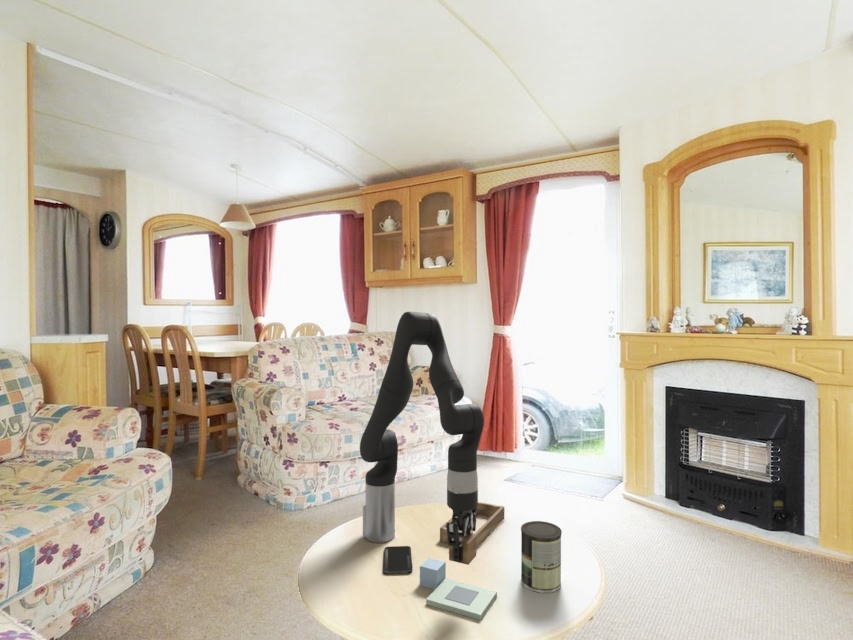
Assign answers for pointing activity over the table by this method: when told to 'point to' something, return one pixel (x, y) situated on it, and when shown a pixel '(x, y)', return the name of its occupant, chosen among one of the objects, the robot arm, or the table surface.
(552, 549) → the coffee can
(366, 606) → the table surface
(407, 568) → the phone
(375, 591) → the table surface
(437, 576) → the blue block
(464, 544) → the walnut block
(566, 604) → the table surface
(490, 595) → the plate
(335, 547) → the table surface
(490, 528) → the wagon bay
